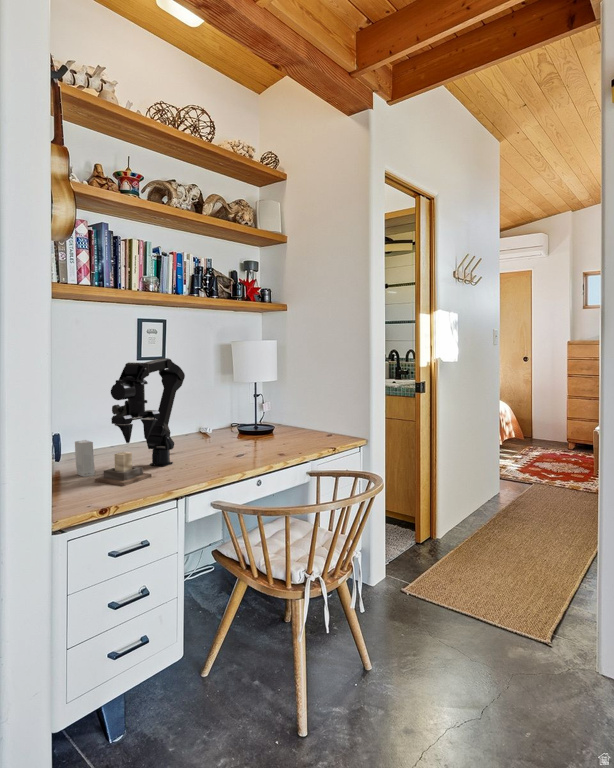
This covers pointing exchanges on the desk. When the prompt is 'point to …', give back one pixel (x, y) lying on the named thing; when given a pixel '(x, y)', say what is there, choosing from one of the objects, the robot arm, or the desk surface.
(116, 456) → the maple peg
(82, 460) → the skincare box
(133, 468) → the socket holder
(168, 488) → the desk surface
